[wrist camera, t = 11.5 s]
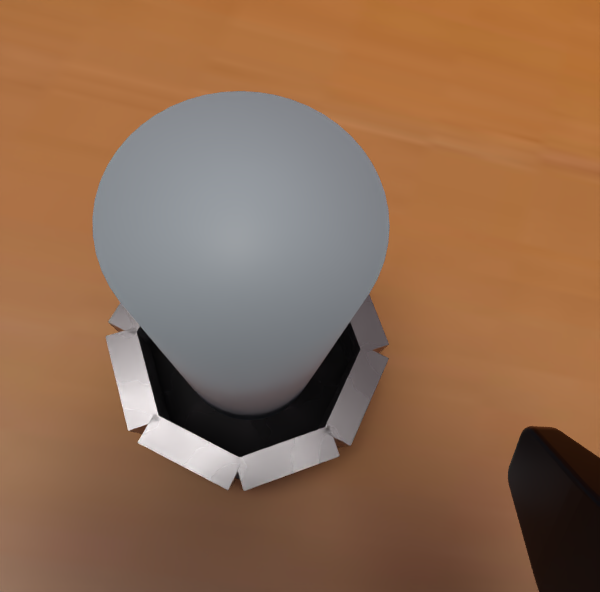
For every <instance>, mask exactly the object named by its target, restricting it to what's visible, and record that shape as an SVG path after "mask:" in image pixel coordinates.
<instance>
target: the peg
mask: <svg viewBox="0 0 600 592" xmlns="http://www.w3.org/2000/svg"><path fill="white" fill-rule="evenodd" d="M93 238H94V244H95V250H96V255H97V258H98V261H99V264H100V267H101V270H102V272H103V274H104V276H105V278H106V280H107V282H108V284H109V286H110V288H111V290H112V291H113V293H114V294H115V295H116V297H117V298H118V300H119V301H120V302H121V304H122V305H123V306H124V307H125V309H126V310H127V311H128V312H129V313H130V315H131V316H132V317H133V318H134V319H135V321H136V322H137V323H138V324H139V325H140V326H141V328H142V329H143V330H144V331H145V332H146V334H147V335H148V336H149V337H150V338H151V339H152V341H153V342H154V343H155V344H156V345H157V347H158V348H159V349H160V350H161V351H162V353H163V354H164V355H165V356H166V357H167V358H168V360H169V361H170V362H171V363H172V364H173V366H174V367H175V368H176V369H177V370H178V371H179V373H180V374H181V375H182V376H183V377H184V379H185V380H186V381H187V382H188V383H189V385H190V386H191V387H192V388H193V389H194V390H195V392H196V393H197V394H198V395H199V396H200V398H201V399H202V400H203V401H204V402H205V403H206V404H207V405H209V406H210V407H211V408H212V409H214V410H215V411H217V412H219V413H221V414H223V415H225V416H228V417H231V418H235V419H241V420H257V419H263V418H267V417H270V416H272V415H275V414H277V413H279V412H281V411H282V410H284V409H286V408H287V407H288V406H289V405H291V404H292V403H293V402H294V401H295V400H296V399H297V398H298V396H299V395H300V394H301V392H302V391H303V390H304V388H305V387H306V385H307V384H308V382H309V381H310V379H311V378H312V376H313V375H314V374H315V372H316V371H317V369H318V368H319V366H320V365H321V363H322V362H323V360H324V359H325V357H326V356H327V355H328V353H329V352H330V350H331V349H332V347H333V346H334V344H335V343H336V341H337V340H338V338H339V337H340V336H341V334H342V333H343V331H344V330H345V328H346V327H347V325H348V324H349V322H350V321H351V319H352V318H353V317H354V315H355V314H356V312H357V311H358V309H359V308H360V306H361V305H362V303H363V302H364V300H365V299H366V298H367V296H368V295H369V293H370V291H371V289H372V288H373V286H374V284H375V282H376V280H377V279H378V276H379V274H380V271H381V268H382V266H383V263H384V260H385V256H386V251H387V247H388V238H389V213H388V206H387V201H386V196H385V192H384V190H383V187H382V184H381V181H380V178H379V176H378V174H377V172H376V170H375V168H374V166H373V164H372V162H371V161H370V159H369V158H368V157H367V155H366V154H365V152H364V151H363V149H362V148H361V147H360V146H359V145H358V143H357V142H356V141H355V140H354V139H353V138H352V137H351V136H350V135H349V134H348V133H347V132H346V131H345V130H344V129H343V128H341V127H340V126H339V125H338V124H337V123H335V122H334V121H332V120H331V119H329V118H328V117H326V116H325V115H324V114H322V113H320V112H318V111H316V110H314V109H312V108H311V107H309V106H306V105H304V104H301V103H299V102H296V101H294V100H291V99H287V98H284V97H280V96H277V95H272V94H266V93H259V92H245V91H235V92H220V93H214V94H208V95H203V96H199V97H196V98H192V99H189V100H186V101H183V102H181V103H179V104H176V105H174V106H171V107H169V108H167V109H166V110H164V111H162V112H160V113H158V114H157V115H155V116H153V117H152V118H151V119H149V120H148V121H147V122H145V123H144V124H142V125H141V126H140V127H139V128H138V129H137V130H136V131H134V132H133V133H132V134H131V135H130V136H129V137H128V138H127V139H126V140H125V142H124V143H123V144H122V145H121V146H120V148H119V149H118V150H117V151H116V153H115V154H114V156H113V158H112V159H111V161H110V162H109V164H108V166H107V168H106V170H105V172H104V174H103V177H102V179H101V181H100V184H99V187H98V191H97V194H96V198H95V203H94V211H93Z"/></svg>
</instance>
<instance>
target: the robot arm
mask: <svg viewBox="0 0 600 592" xmlns="http://www.w3.org/2000/svg"><path fill="white" fill-rule="evenodd" d="M508 482H509V487H510V490H511V494H512V498H513V501H514V505H515V509H516V512H517V516H518V519H519V523H520V527H521V530H522V534H523V538H524V541H525V545H526V548H527V552H528V556H529V559H530V563H531V567H532V570H533V574H534V577H535V580H536V583H537V587H538V590H539V592H600V458H599V457H598V456H596V455H595V454H593V453H592V452H590V451H589V450H587V449H586V448H584V447H583V446H582V445H580V444H579V443H577V442H576V441H574V440H573V439H571V438H570V437H568V436H567V435H565V434H564V433H563V432H561V431H560V430H558V429H556V428H552V427H537V426H530V427H527V428H525V429H524V430H523V431H522V433H521V436H520V438H519V441H518V444H517V446H516V449H515V452H514V455H513V457H512V460H511V463H510V466H509V470H508Z"/></svg>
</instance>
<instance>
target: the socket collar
mask: <svg viewBox="0 0 600 592" xmlns="http://www.w3.org/2000/svg"><path fill="white" fill-rule="evenodd" d="M108 322H109V323H110V324H111V325H112V326H113V327H114V328H115V329H116V330H117V331H118V333H115V334H111V335H108V336H106V340H107V345H108V349H109V353H110V357H111V361H112V365H113V370H114V374H115V378H116V382H117V386H118V390H119V394H120V399H121V403H122V407H123V411H124V415H125V419H126V423H127V428H128V431H132V432H136V433H140V434H142V436H141V438H140V439H139V441H138V443H139V444H141V445H143V446H145V447H147V448H149V449H151V450H152V451H154V452H156V453H158V454H160V455H162V456H164V457H166V458H168V459H170V460H172V461H173V462H175V463H177V464H179V465H181V466H183V467H185V468H187V469H189V470H191V471H192V472H194V473H196V474H198V475H200V476H202V477H204V478H206V479H208V480H210V481H212V482H213V483H215V484H217V485H219V486H221V487H223V488H225V489H227V490H229V489H230V488H231V487H232V485H233V483H234V481H235V479H236V478H237V479H240V480H241V483H242V487H243V490H244V491H246V490H248V489H251V488H254V487H257V486H259V485H262V484H265V483H268V482H270V481H273V480H276V479H278V478H281V477H284V476H287V475H289V474H292V473H295V472H298V471H300V470H303V469H306V468H309V467H311V466H314V465H317V464H320V463H322V462H325V461H328V460H331V459H333V458H336V457H339V456H340V455H339V453H338V450H337V447H339V448H340V447H346V446H351V444H352V442H353V439H354V437H355V435H356V432H357V430H358V428H359V426H360V423H361V421H362V419H363V416H364V414H365V412H366V410H367V407H368V405H369V403H370V400H371V398H372V396H373V393H374V391H375V389H376V387H377V384H378V382H379V380H380V377H381V375H382V373H383V371H384V368H385V366H386V364H387V361H388V359H389V358H387V357H385V356H383V355H381V354H379V353H380V352H381V351H382V350H383V349H384V348H385V347H387V346H388V345H389V343H388V341H387V338H386V336H385V333H384V331H383V328H382V326H381V323H380V321H379V318H378V315H377V313H376V310H375V308H374V305H373V303H372V300H371V298H370V295H368V296H367V298H366V299H365V300H364V302H363V303H362V305H361V306H360V308H359V309H358V311H357V312H356V314H355V315H354V317H353V318H352V319H351V321H350V322H349V324H348V325H347V327H346V328H345V330H344V331H343V333H342V334H341V336H340V337H339V338H338V340H337V341H336V343H335V344H334V346H333V347H332V349H331V350H330V352H329V353H328V355H327V356H326V357H325V359H324V360H323V362H322V363H321V365H320V366H319V368H318V369H317V371H316V372H315V374H314V375H313V376H312V378H311V379H310V381H309V382H308V384H307V385H306V387H305V388H304V390H303V391H302V392H301V394H300V395H299V396H298V398H297V399H296V400H295V401H294V402H293V403H292V404H291V405H289V406H288V407H287V408H286V409H284V410H282V411H281V412H279V413H277V414H275V415H272V416H270V417H267V418H263V419H257V420H241V419H235V418H231V417H228V416H225V415H223V414H221V413H219V412H217V411H215V410H214V409H212V408H211V407H210V406H209V405H207V404H206V403H205V402H204V401H203V400H202V399H201V398H200V396H199V395H198V394H197V393H196V392H195V390H194V389H193V388H192V387H191V386H190V385H189V383H188V382H187V381H186V380H185V379H184V377H183V376H182V375H181V374H180V373H179V371H178V370H177V369H176V368H175V367H174V366H173V364H172V363H171V362H170V361H169V360H168V358H167V357H166V356H165V355H164V354H163V353H162V351H161V350H160V349H159V348H158V347H157V345H156V344H155V343H154V342H153V341H152V339H151V338H150V337H149V336H148V335H147V334H146V332H145V331H144V330H143V329H142V328H141V326H140V325H139V324H138V323H137V322H136V321H135V319H134V318H133V317H132V316H131V315H130V313H129V312H128V311H127V310H126V309H125V307H124V306H123V305H122V304H121V303H120V304H119V306H118V307H117V309H116V311H115V312H114V314H113V315H112V317H111V318H110V320H109V321H108ZM336 446H337V447H336Z"/></svg>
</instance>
